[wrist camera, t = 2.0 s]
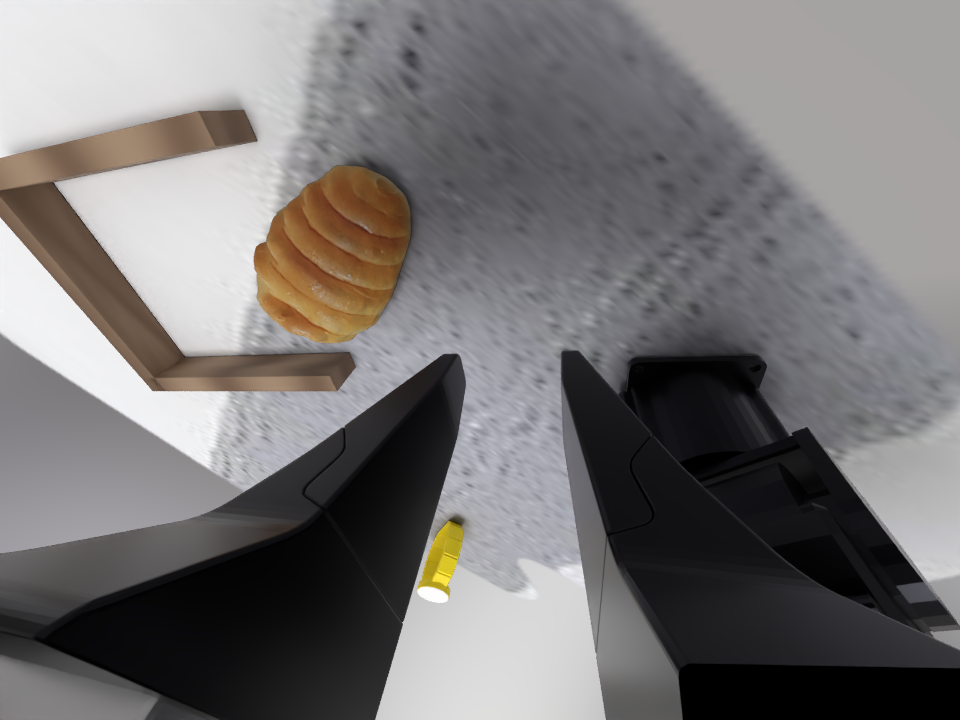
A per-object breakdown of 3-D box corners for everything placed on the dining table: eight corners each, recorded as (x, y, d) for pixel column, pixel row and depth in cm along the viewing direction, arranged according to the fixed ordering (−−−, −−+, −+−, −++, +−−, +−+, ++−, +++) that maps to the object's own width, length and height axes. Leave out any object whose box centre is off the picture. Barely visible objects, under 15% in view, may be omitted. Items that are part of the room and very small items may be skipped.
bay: (243, 110, 16) (198, 111, 14) (355, 367, 24) (337, 391, 22) (19, 161, 19) (-43, 168, 17) (182, 370, 27) (152, 391, 25)
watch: (447, 508, 33) (430, 574, 28) (474, 519, 33) (462, 586, 28) (425, 537, 36) (406, 601, 31) (450, 547, 36) (435, 613, 31)
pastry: (332, 120, 16) (279, 124, 13) (450, 225, 18) (428, 251, 14) (268, 266, 21) (219, 295, 18) (365, 336, 23) (336, 373, 20)
